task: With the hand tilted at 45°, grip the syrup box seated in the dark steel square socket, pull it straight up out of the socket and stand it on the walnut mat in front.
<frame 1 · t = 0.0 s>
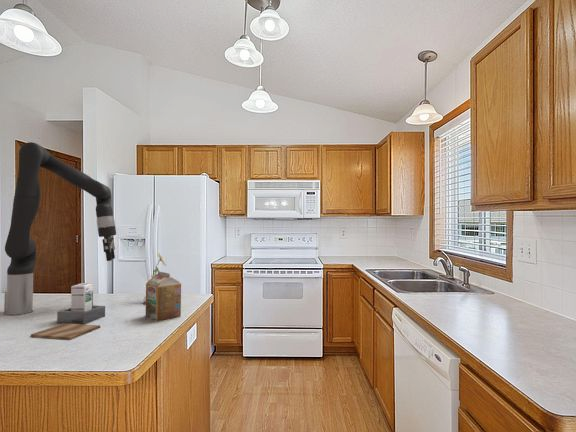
hand: (111, 259, 162), 22 cm above the counter, tool pointing down, fingers open, 8 cm apart
walnut mat: (66, 332, 124), on the counter
square socket: (81, 319, 140), on the counter
milk carton: (163, 317, 146), on the counter
syrup box: (81, 320, 140), resting in square socket
flower in vase: (155, 302, 173), on the counter
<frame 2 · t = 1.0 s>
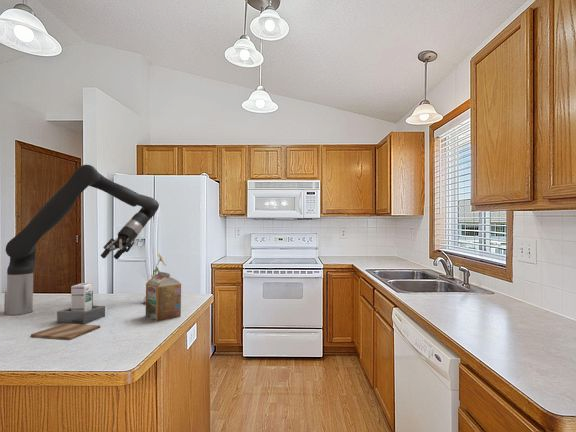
hand: (108, 257, 151), 25 cm above the counter, tool tilted 45°, fingers open, 8 cm apart
nothing on the counter moved.
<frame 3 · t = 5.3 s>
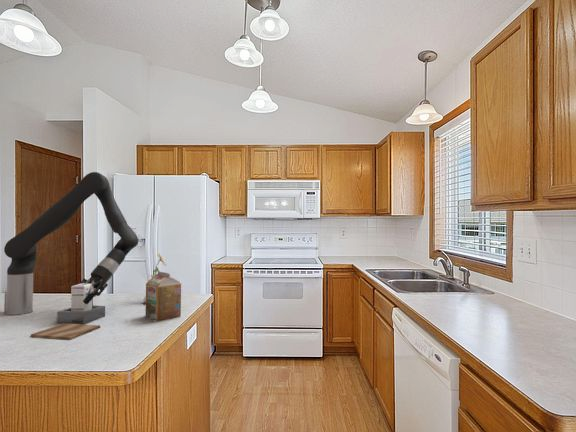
hand: (78, 301, 139), 8 cm above the counter, tool tilted 45°, fingers closed on syrup box, 7 cm apart
syrup box: (81, 320, 140), resting in square socket, touching gripper
everything else where it was.
when the fingers open (10 cm above the counter, at t = 13.8 s): syrup box drops 1 cm, resting on walnut mat.
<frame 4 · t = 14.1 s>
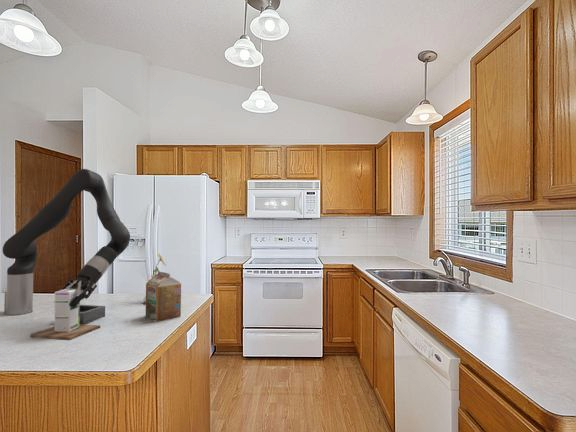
hand: (63, 305, 123), 10 cm above the counter, tool tilted 45°, fingers open, 8 cm apart
syrup box: (66, 330, 125), point 1 cm above the counter, touching gripper, walnut mat
everything else where it was.
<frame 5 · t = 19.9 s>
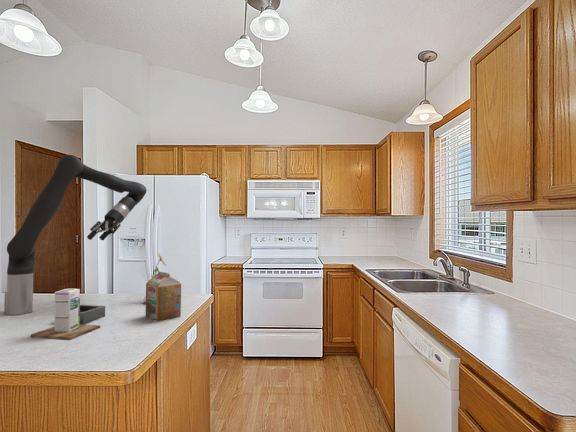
hand: (94, 238, 154), 33 cm above the counter, tool tilted 45°, fingers open, 8 cm apart
syrup box: (67, 330, 125), point 1 cm above the counter, touching walnut mat
everything else where it was.
at the end: syrup box inside the target area on the walnut mat (0.4 cm from its centre), point 0.6 cm above the walnut mat's base; syrup box tilted 0°; the gripper is holding nothing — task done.
